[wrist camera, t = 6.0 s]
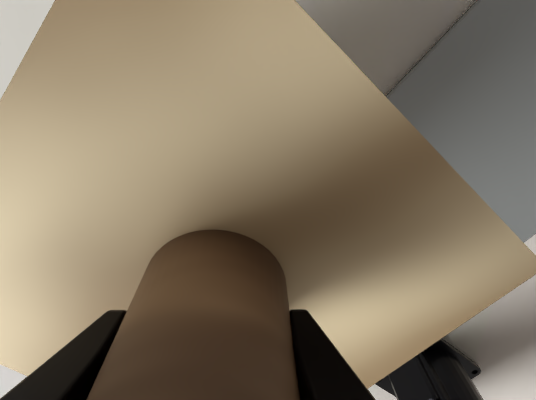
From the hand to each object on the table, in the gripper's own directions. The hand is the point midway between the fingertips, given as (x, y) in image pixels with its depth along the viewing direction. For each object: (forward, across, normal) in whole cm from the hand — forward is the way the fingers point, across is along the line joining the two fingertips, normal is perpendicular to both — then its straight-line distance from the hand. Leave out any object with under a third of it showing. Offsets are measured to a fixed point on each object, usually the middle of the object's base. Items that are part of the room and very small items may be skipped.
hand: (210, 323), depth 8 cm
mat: (+13, -16, -1) cm, 20 cm away
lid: (+2, 0, 0) cm, 2 cm away
